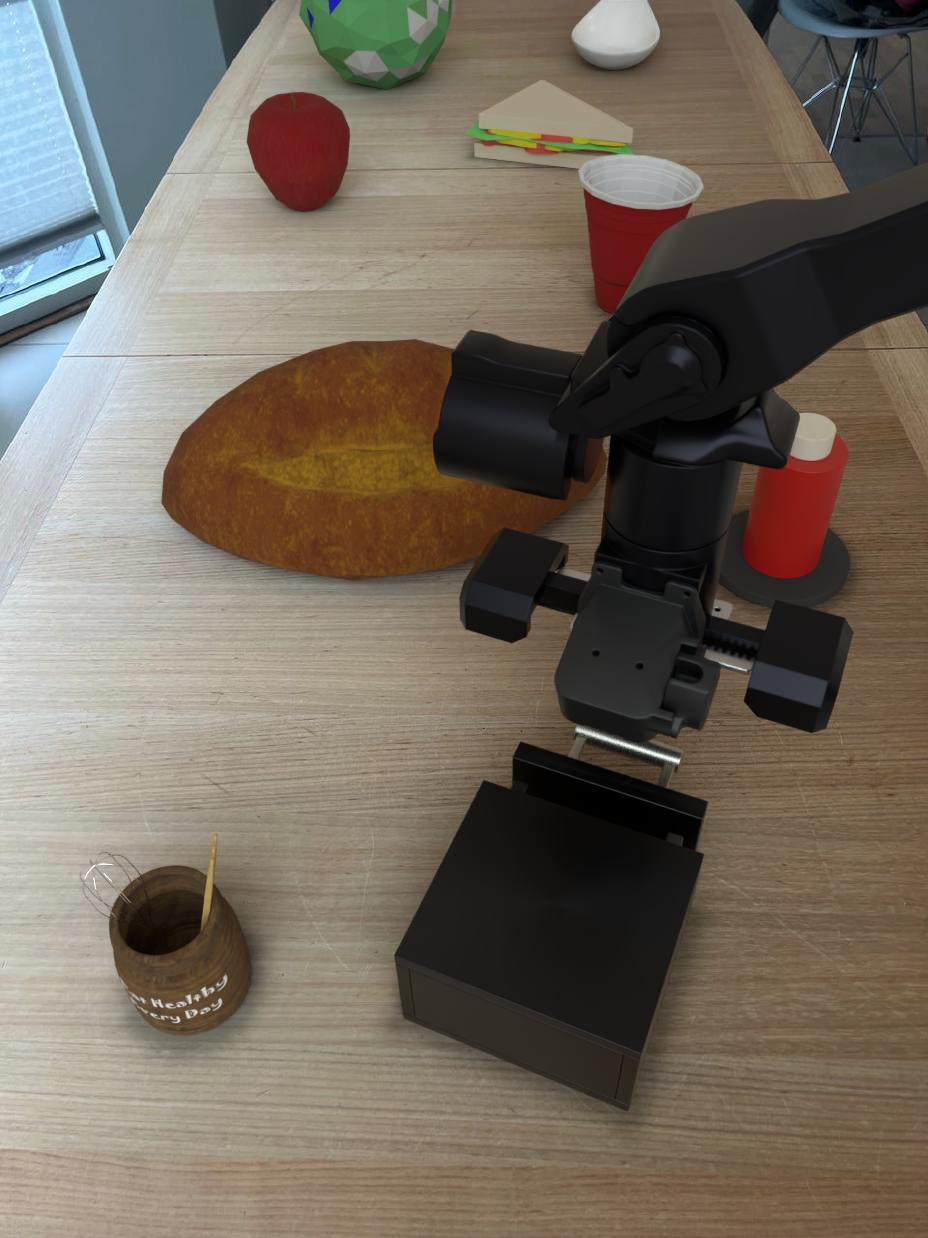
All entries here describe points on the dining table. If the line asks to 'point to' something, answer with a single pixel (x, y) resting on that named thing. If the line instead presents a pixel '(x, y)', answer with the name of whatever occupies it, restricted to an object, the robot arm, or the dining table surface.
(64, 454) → the dining table surface
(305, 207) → the apple
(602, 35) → the spoon rest
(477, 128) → the sandwich
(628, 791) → the drawer
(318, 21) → the decorative sphere
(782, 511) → the ketchup bottle
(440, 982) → the cabinet
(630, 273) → the plastic cup
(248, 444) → the bread
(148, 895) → the utensil holder
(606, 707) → the robot arm
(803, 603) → the disc
